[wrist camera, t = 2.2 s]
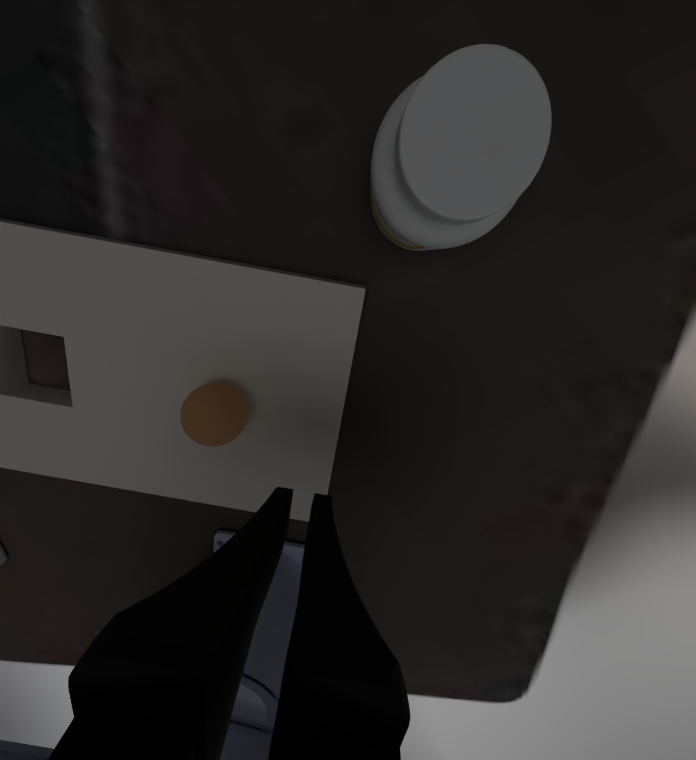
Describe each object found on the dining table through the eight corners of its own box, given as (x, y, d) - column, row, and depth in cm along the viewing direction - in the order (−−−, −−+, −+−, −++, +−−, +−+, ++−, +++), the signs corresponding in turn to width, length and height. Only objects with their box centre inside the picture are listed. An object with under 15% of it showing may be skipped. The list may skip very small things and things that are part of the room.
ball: (253, 432, 21) (232, 464, 18) (198, 422, 21) (167, 452, 18) (258, 380, 20) (236, 405, 17) (199, 369, 20) (166, 392, 17)
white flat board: (365, 285, 20) (365, 289, 18) (325, 504, 25) (321, 523, 23) (-81, 203, 19) (-128, 198, 18) (-22, 442, 25) (-54, 457, 23)
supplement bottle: (479, 136, 17) (609, -1, 8) (464, 251, 19) (556, 248, 10) (371, 136, 17) (376, 2, 8) (367, 250, 19) (368, 245, 10)
